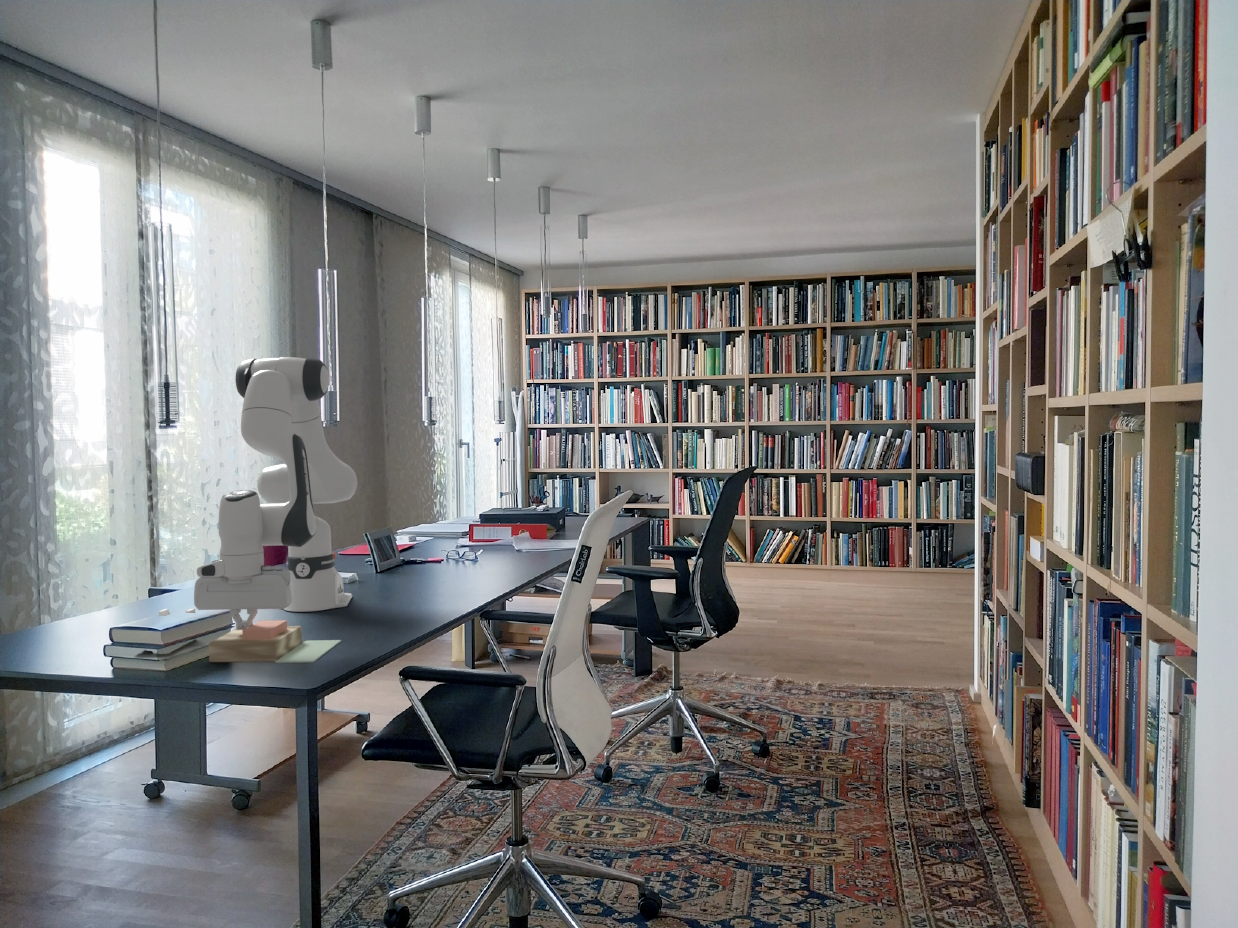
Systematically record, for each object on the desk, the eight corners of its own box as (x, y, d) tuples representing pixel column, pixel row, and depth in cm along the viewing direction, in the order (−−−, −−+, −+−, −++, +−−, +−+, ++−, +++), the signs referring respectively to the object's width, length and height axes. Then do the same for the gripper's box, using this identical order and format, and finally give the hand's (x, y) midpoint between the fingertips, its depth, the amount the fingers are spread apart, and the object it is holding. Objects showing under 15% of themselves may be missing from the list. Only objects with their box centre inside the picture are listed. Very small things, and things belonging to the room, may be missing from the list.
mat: (306, 641, 205) (306, 640, 205) (341, 641, 205) (341, 639, 205) (275, 662, 187) (275, 661, 187) (313, 662, 187) (313, 661, 187)
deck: (240, 644, 204) (239, 626, 204) (301, 643, 204) (301, 625, 204) (209, 662, 189) (208, 643, 189) (276, 661, 189) (275, 642, 189)
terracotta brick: (260, 629, 201) (260, 620, 201) (287, 629, 201) (286, 620, 201) (242, 639, 192) (242, 629, 192) (270, 638, 192) (270, 629, 192)
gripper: (295, 563, 199) (297, 625, 199) (203, 564, 199) (205, 626, 200) (284, 567, 192) (286, 631, 193) (189, 568, 193) (191, 633, 193)
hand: (244, 629), depth 196 cm, fingers closed
